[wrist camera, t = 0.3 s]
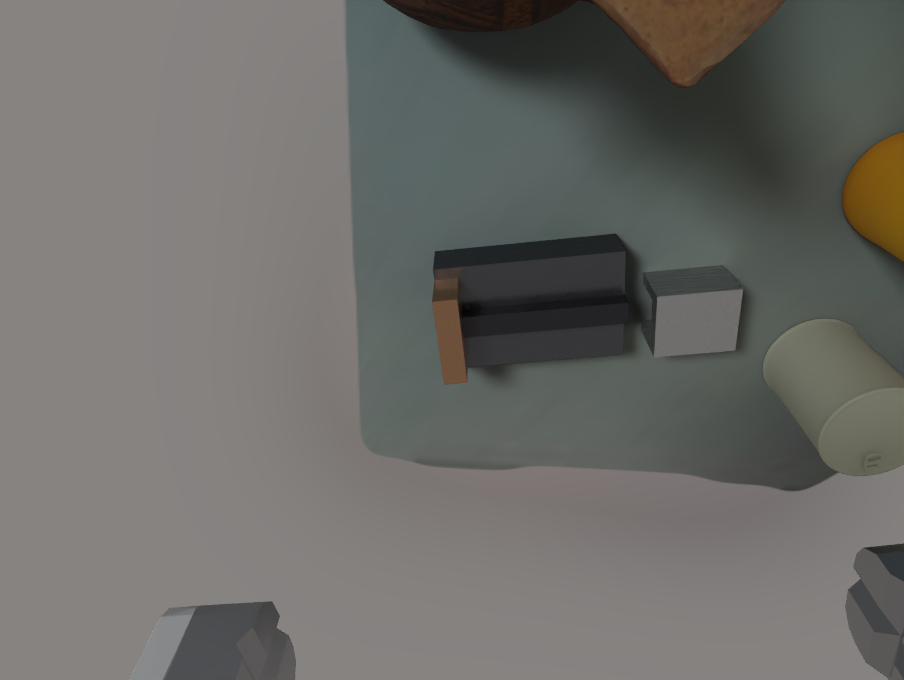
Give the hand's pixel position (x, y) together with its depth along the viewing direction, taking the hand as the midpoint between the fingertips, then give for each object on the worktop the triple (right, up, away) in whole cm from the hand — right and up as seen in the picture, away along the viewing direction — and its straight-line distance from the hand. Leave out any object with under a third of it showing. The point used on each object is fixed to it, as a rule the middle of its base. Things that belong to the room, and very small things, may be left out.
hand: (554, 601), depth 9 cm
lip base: (+6, +8, +50) cm, 50 cm away
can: (+33, +2, +53) cm, 62 cm away
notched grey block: (+20, +8, +50) cm, 54 cm away
